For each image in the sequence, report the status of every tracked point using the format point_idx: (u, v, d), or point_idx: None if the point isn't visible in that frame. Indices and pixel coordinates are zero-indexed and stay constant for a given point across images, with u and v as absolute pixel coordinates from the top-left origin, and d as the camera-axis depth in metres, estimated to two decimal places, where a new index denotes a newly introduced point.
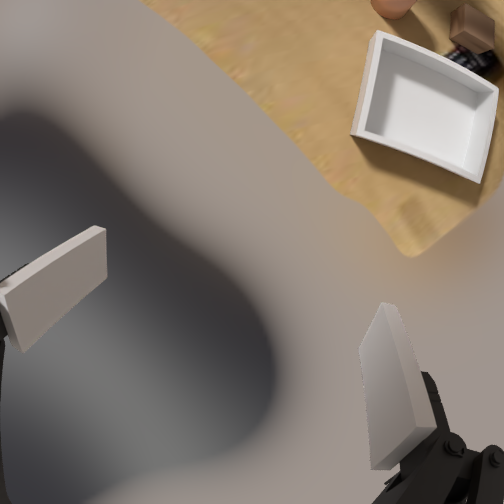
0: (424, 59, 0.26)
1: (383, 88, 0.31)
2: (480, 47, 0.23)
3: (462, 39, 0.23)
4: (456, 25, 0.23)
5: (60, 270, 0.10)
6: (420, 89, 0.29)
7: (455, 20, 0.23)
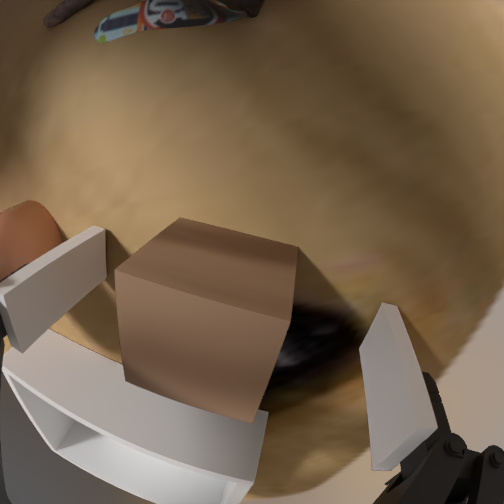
0: None
1: None
2: None
3: None
4: None
5: (60, 270, 0.10)
6: None
7: None
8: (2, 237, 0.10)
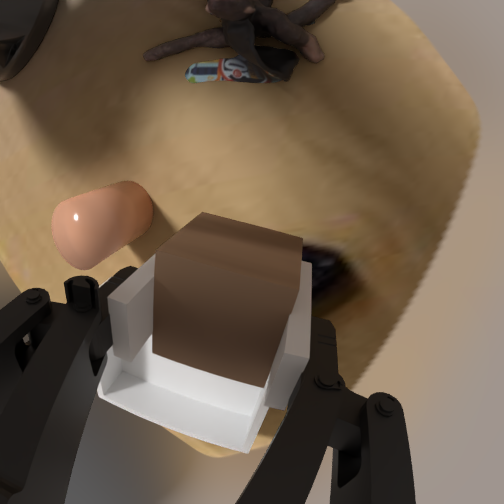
0: None
1: None
2: None
3: None
4: None
5: None
6: None
7: None
8: (119, 199, 0.20)
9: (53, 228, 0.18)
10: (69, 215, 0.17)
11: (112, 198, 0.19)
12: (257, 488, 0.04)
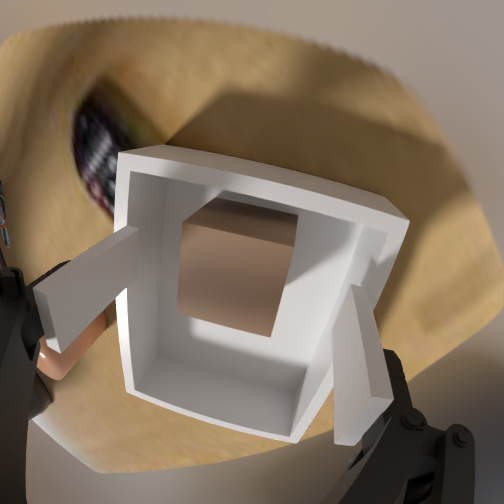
0: (142, 316, 0.19)
1: (221, 356, 0.22)
2: None
3: None
4: None
5: (99, 269, 0.11)
6: None
7: None
8: None
9: (47, 374, 0.19)
10: None
11: None
12: None
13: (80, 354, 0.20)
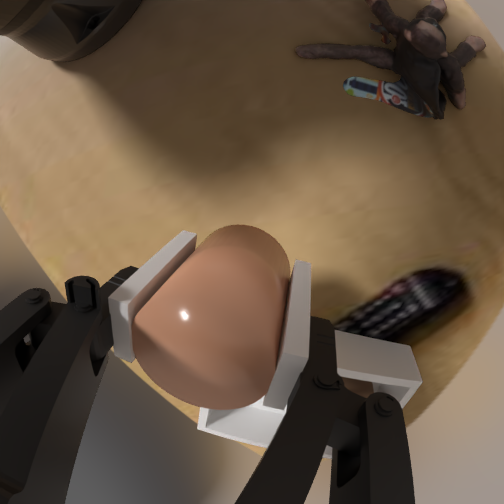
0: None
1: None
2: None
3: None
4: None
5: (167, 275, 0.12)
6: None
7: (352, 384, 0.24)
8: (270, 276, 0.11)
9: (135, 340, 0.09)
10: (188, 326, 0.09)
11: (261, 276, 0.11)
12: (256, 488, 0.04)
13: None
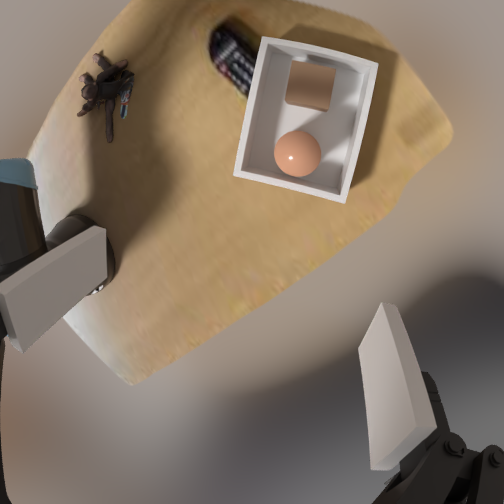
0: (253, 121, 0.34)
1: None
2: (318, 108, 0.32)
3: (296, 104, 0.32)
4: None
5: (60, 270, 0.10)
6: (286, 120, 0.35)
7: None
8: None
9: (276, 148, 0.30)
10: (296, 140, 0.30)
11: None
12: None
13: None
